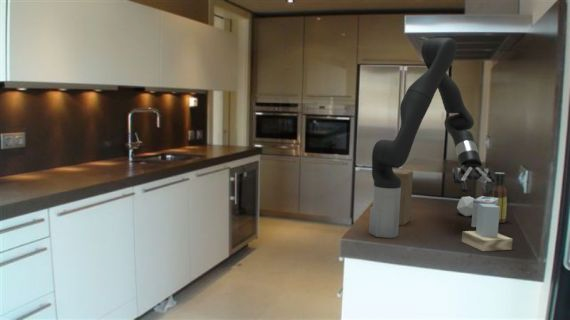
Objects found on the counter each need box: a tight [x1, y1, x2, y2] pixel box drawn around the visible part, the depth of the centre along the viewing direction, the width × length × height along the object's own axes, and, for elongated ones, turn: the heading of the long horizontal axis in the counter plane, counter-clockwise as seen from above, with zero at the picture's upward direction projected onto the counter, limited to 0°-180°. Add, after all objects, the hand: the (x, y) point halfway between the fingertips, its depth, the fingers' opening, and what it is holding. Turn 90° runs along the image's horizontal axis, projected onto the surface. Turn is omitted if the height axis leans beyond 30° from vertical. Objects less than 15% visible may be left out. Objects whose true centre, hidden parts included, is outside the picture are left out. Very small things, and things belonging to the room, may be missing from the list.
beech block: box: [461, 230, 514, 252], centre depth 163 cm, size 11×11×4 cm
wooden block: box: [392, 168, 414, 227], centre depth 191 cm, size 10×10×20 cm
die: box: [456, 195, 476, 217], centre depth 207 cm, size 8×9×10 cm
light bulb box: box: [470, 195, 498, 228], centre depth 189 cm, size 11×7×11 cm, turn 142°
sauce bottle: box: [489, 171, 508, 224], centre depth 196 cm, size 7×6×20 cm
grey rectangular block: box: [475, 204, 500, 237], centre depth 162 cm, size 5×5×10 cm
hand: (478, 192), depth 171 cm, fingers open, 8 cm apart
